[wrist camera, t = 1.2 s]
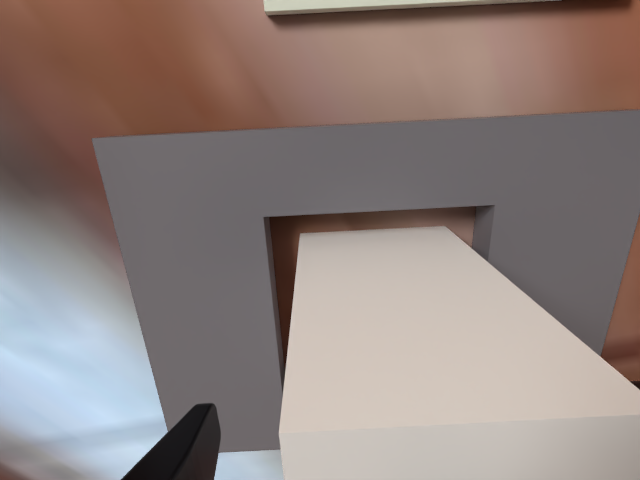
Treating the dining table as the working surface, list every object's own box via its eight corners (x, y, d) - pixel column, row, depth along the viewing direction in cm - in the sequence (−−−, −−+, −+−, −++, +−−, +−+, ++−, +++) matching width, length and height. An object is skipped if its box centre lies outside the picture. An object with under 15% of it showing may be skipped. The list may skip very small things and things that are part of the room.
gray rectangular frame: (631, 109, 11) (667, 108, 10) (558, 409, 15) (579, 433, 14) (114, 136, 11) (91, 138, 10) (184, 429, 15) (174, 455, 14)
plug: (444, 225, 12) (924, 628, 3) (435, 346, 14) (704, 856, 4) (300, 233, 12) (253, 666, 3) (308, 353, 14) (299, 877, 4)
